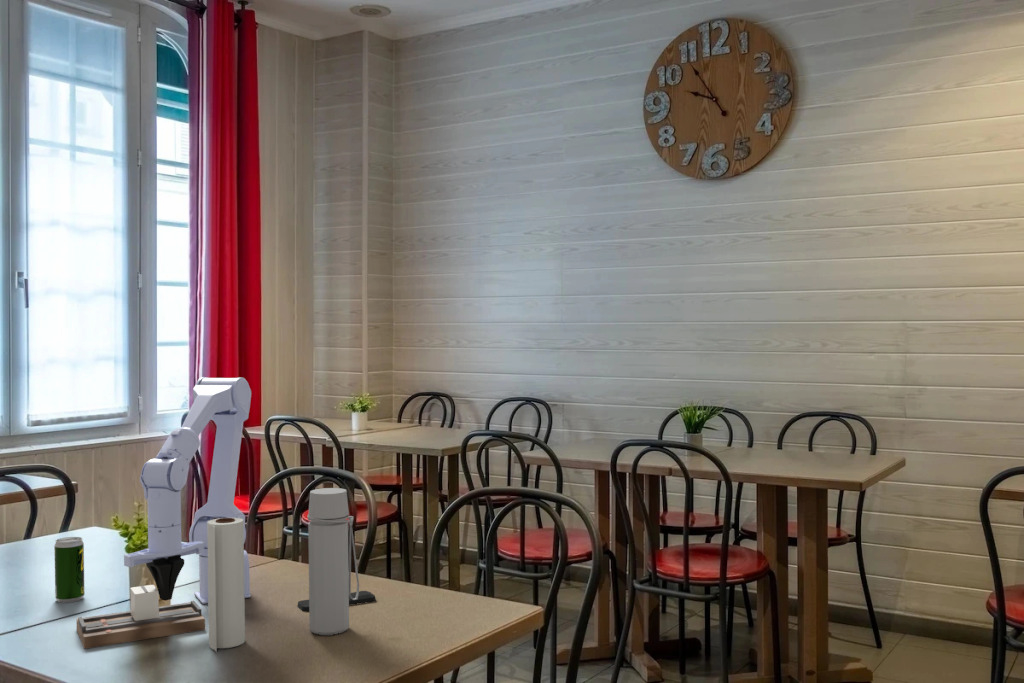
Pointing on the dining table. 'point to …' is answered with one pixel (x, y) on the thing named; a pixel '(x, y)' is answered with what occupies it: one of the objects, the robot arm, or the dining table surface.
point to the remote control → (362, 598)
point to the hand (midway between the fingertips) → (165, 598)
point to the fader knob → (144, 602)
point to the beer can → (69, 569)
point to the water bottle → (329, 561)
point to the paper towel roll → (226, 582)
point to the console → (139, 625)
